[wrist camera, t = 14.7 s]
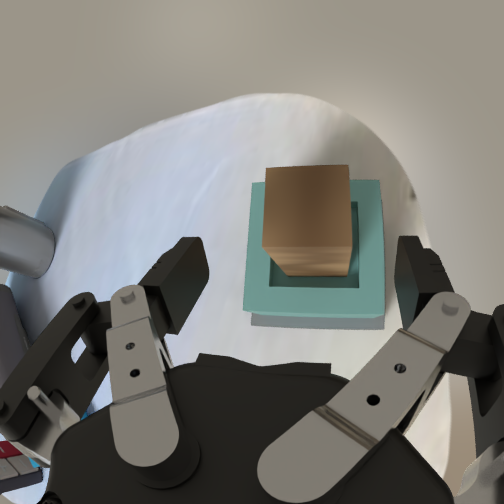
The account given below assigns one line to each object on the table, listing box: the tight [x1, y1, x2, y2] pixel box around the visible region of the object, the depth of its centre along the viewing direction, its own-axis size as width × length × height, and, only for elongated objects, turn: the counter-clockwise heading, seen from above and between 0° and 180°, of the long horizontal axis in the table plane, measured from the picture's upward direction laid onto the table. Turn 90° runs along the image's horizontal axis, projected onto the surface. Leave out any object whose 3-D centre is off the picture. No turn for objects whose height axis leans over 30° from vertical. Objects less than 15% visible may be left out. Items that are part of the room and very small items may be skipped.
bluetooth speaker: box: [0, 284, 31, 388], centre depth 37 cm, size 23×9×10 cm, turn 32°
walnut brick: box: [262, 165, 352, 277], centre depth 20 cm, size 4×4×8 cm
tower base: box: [243, 180, 385, 330], centre depth 28 cm, size 12×12×11 cm
